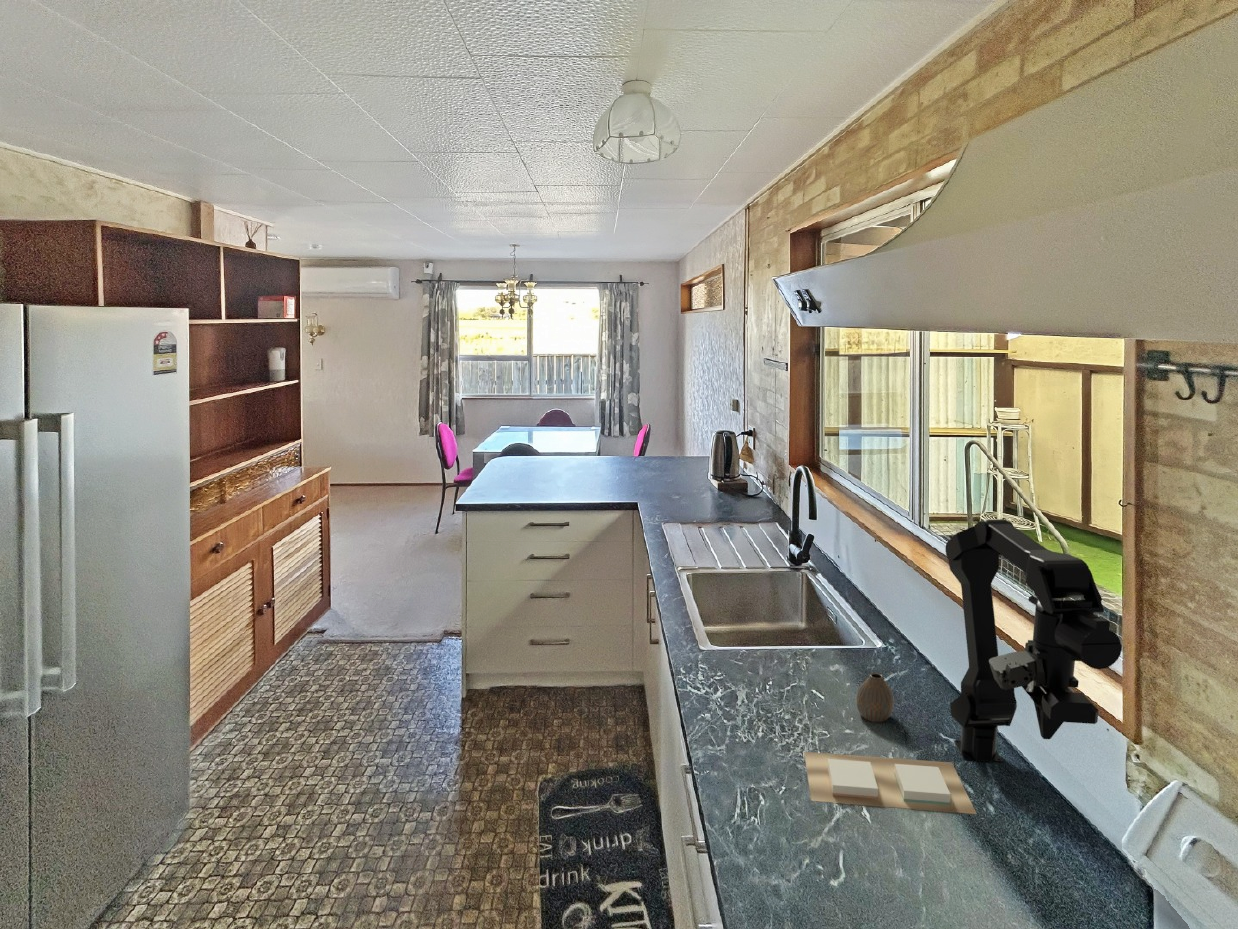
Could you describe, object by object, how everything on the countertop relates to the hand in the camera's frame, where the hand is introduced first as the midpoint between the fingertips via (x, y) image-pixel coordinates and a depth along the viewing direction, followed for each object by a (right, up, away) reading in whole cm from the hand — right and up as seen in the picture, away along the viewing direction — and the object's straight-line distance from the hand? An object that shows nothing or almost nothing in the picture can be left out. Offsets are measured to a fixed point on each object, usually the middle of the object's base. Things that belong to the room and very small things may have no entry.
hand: (1045, 738), depth 121 cm
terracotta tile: (-26, -10, +14) cm, 31 cm away
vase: (-15, -8, +33) cm, 38 cm away
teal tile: (-15, -10, +13) cm, 22 cm away
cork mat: (-21, -11, +11) cm, 26 cm away
